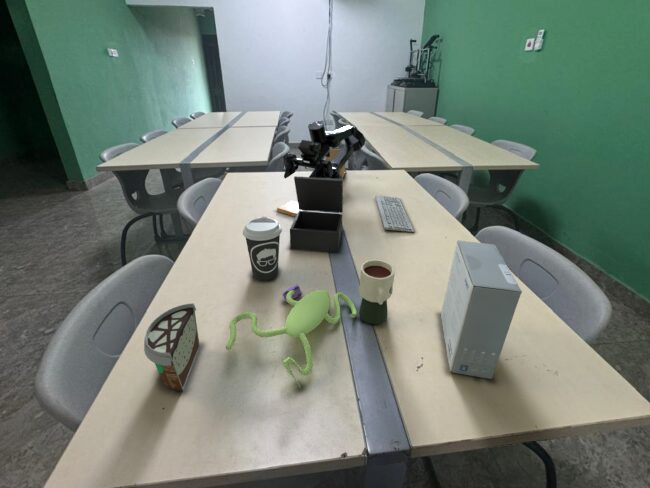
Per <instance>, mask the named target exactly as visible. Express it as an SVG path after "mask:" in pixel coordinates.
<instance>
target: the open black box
mask: <svg viewBox="0 0 650 488" xmlns="http://www.w3.org/2000/svg"><path fill="white" fill-rule="evenodd" d="M343 214H344V213H339V212H325V211H311V210H307V211H304V210H299V212H298V214H297V216H296V217H294V220H293V221H292V223H291V226H290V228H289V247H290V250H302V251H315V252H326V253H337V254H338V253H339V249H340V245H341V244H340V243H341V238H342V232H343Z"/></svg>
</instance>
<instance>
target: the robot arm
mask: <svg viewBox="0 0 650 488" xmlns="http://www.w3.org/2000/svg"><path fill="white" fill-rule="evenodd" d="M307 128H308V132H309V136H310V140H306V139H301V141H300V142H299V146H298V147H297V149H298V150H299V151H300V152H301V154H300V158H298V156H297V154H293V153H287V152H286V153H285V154H284V156H283V157H282V159H283V162H284V165H285V171H284V174H283V178H284V179H287V178H289V177H291V176H292V175H294V174H295V173H296V171H298V170H299V166H300V167H304V169H307V170H310V171H312V172H311V174H309V176H308V177H313V178H329V179H343V180H344V177H343V178H342V177H341V175H340V170H341V168H342V167H343V166H344V164H345V165H346V163H347V162H348V160H349V159H350V157H351V156H352V155H353V153H355V152H358V151H360V150H361V149H363V147H364V146H365V144H366V138H365V135H364V133H362V132H361V131H360V130H359V129H358V128H357V126H355V125H350V124H349V125H348V124H346V125H344V126H343V127H340V128H337V129H335V130H326V128H325V121H324V120H321V119H319V120H317V121H314V122H311V123H308V126H307ZM342 141H344V143H345V144H344V146H343V147H342V148H341V149H340V150H341V151H340V152H339V153H338V154H337V156H336V157H335V158H334V159H333V161H332V162H331V161H327V160H326V159H325V158H326V157H330V149H337V148H338V147H339V146H340V145H341V142H342Z"/></svg>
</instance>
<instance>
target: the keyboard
mask: <svg viewBox="0 0 650 488" xmlns="http://www.w3.org/2000/svg"><path fill="white" fill-rule="evenodd" d="M374 198H375V201H376V205H377V209H378V213H379V215H380V219H381V223H382V226H383V230H387V231H397V232H406V233H415V230H414V227H413V226H412V224H411V221H410V219H409V216H408V214H407V212H406V210H405V208H404V206H403V203H402V201H401V200H400V198H399V197H397V196H396V197H394V196H388V195H378V194H376V195H375V196H374Z"/></svg>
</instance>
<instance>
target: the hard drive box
mask: <svg viewBox="0 0 650 488" xmlns="http://www.w3.org/2000/svg"><path fill="white" fill-rule="evenodd" d="M522 293H523V291H522V289H521V288H520V286H519V284H518V282H517V280H516V279H515V277H514V275H513V274H512V272H511V270H510V268H509V267H508V265H507V263H506V262H505V260H504V258H503V256H502V254H501V253H500V252H499V249H498V248H497V246H496V244H492V243H483V242H477V241H476V242H475V241H466V240H457V241H456V245H455V250H454V255H453V258H452V262H451V268H450V271H449V277H448V281H447V286H446V290H445V294H444V299H443V302H442V303H443V304H442V307H441V314H440V318H441V325H442V330H443V337H444V343H445V349H446V356H447V361H448V366H449V371H450V372H452V373H454V374H459V375H465V376H471V377H476V378H481V379H489V380H492V379H493V377H494V374H495V371H496V368H497V365H498V362H499V359H500V356H501V353H502V350H503V347H504V345H505V341H506V338H507V335H508V333H509V330H510V327H511V324H512V321H513V318H514V315H515V312H516V310H517V306H518V303H519V300H520V297H521V295H522Z"/></svg>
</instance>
